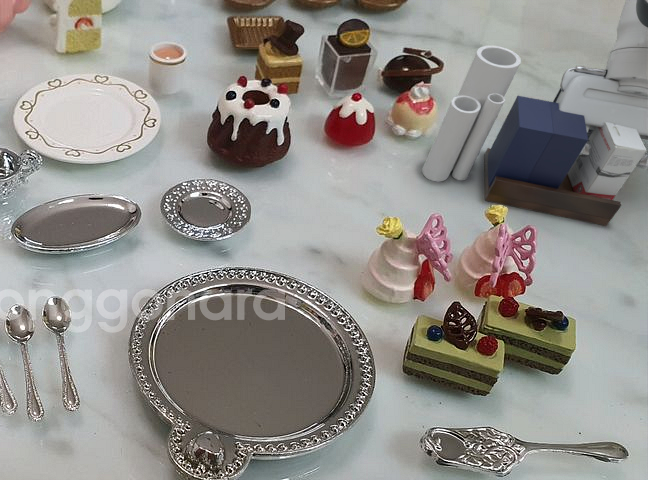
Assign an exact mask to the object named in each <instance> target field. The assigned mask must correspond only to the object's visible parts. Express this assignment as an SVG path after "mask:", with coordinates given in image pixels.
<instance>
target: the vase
mask: <svg viewBox="0 0 648 480" xmlns="http://www.w3.org/2000/svg"><path fill="white" fill-rule="evenodd" d="M521 61H522V59H521V57H520V56H519V55H518V54H517V53H516V52H515V51H513V50H511V49H509V48H506V47H503V46H499V45H490V44H489V45H483V46H480V47H479V48H478V49H477V50H476V52H475V55H474V57H473V59H472V62H471V64H470V66H469V69H468V71H467V72H466V76H465V77H464V80H463V82H462V85H461V87H460V89H459V92H458V94H457V96H454V97H453V98H452V99H451V101H450V103H449V105H448V108H447V111H446V112H445V115H444V118H443V120H442V122H441V124H440V126H439V129H438V131H437V134H436V136H435V138H434V141H433V143H432V146H431V148H430V150H429V152H428V155H427V157H426V160H425V162H424V164H423V166H422V169H421V173H422V175H423V176H424V177H425V178H426V179H428V180H429V181H433V182H438V183H439V182H444V181H446V180H448V178H449V176H450V174H451V176H452V177H453V178H454V179H455V180H458V181H465V180H467V178H468V177H469V175H470V173H471V171H472V168H473V166H474V165H475V162H476V161H477V159H478V156H479V154H480V153H481V150H482V149H483V147H484V144H485V143H486V141H487V138H488V137H489V134H490V132H491V130H492V128H493V126H494V124H495V122H496V120H497V118H498V116H499V114H500V112H501V110H502V107H503V106H504V104H505V101H506V93H507V92H508V90H509V88H510V86H511V84H512V81H513V80H514V78H515V76H516V73H517V72H518V69H519V67H520V66H521Z"/></svg>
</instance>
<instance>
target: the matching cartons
mask: <svg viewBox="0 0 648 480" xmlns="http://www.w3.org/2000/svg"><path fill="white" fill-rule="evenodd" d="M493 141H494V142H493V144H492V145H491V146H490V147H491V148H490V151H489V153H488V186H491V185H492V183H493V181H494V179H495V177H496V176H497V177H502V178H507V179H512V180H517V181H522V182H527V183H531V184H536V185H541V186H546V187H551V188H556V189H558V188H559V186H560V185H561V183H562V182H563V180H564V178H565V177H566V175H567V173H568V172H569V170H570V169H571V167H572V165H573V164H574V162H575V161H576V159H577V157H578V156H579V154H580V153H581V151H582V149H583V148H584V146H585V144H586V143H587V141H588V136H587V130H586V124H585V118H584V115H579V114H573V113H568V112H563V111H560V110H559V103H555V102H553V101H548V100H543V99H539V98H533V97H528V96H522V95H517V96H516V98H515V100H514V102H513V104H512V105H511V108H510V110H509V111H508V114H507V116H506V118H505V120H504V121H503V124H502V125H501V128H500V130H499V131H498V133H497V136H496V137H495V140H493Z"/></svg>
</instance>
